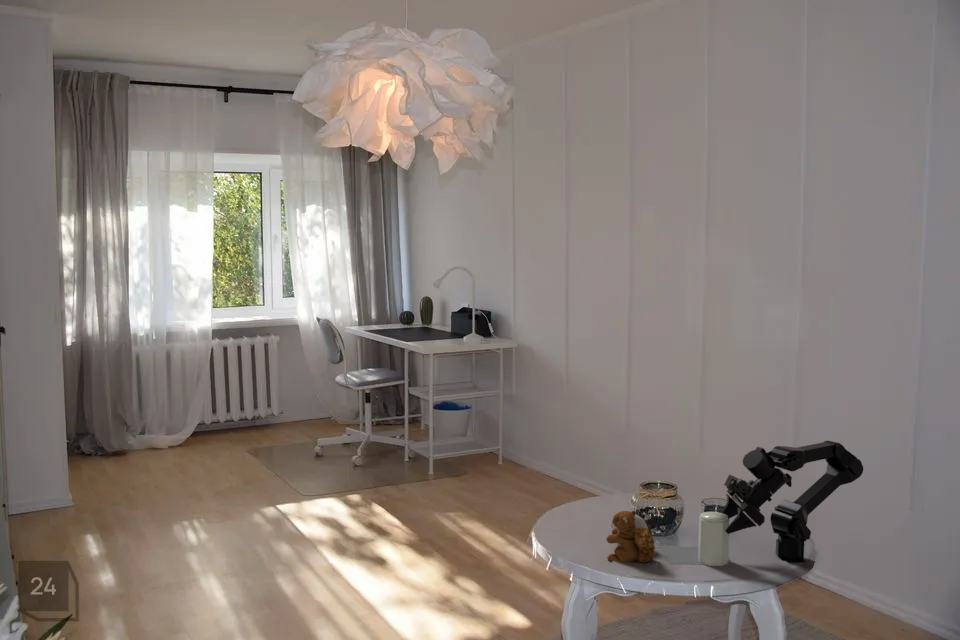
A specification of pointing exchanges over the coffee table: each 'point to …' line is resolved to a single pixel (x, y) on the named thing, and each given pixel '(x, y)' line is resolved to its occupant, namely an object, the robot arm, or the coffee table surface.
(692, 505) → the coffee table surface
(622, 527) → the stuffed squirrel
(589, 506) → the coffee table surface
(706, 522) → the pale green faceted cylinder
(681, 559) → the slate mat
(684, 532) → the coffee table surface
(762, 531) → the coffee table surface
